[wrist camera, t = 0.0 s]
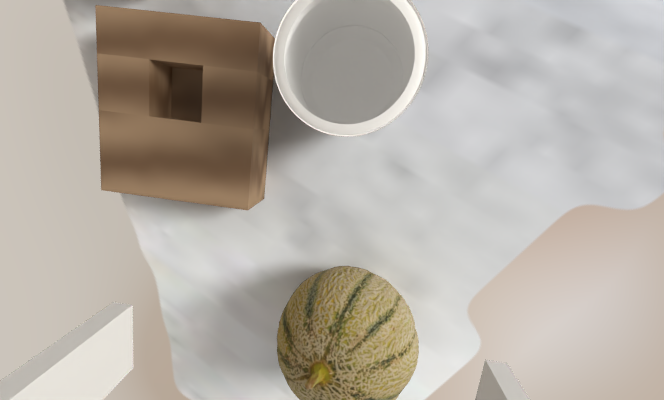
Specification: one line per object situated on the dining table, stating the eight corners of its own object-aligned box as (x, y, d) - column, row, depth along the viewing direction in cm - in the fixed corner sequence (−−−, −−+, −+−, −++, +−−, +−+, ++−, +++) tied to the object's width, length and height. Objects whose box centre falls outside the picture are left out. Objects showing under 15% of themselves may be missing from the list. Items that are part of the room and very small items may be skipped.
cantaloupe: (413, 347, 43) (442, 460, 28) (303, 357, 44) (276, 469, 30) (399, 239, 40) (423, 303, 25) (282, 255, 41) (240, 322, 27)
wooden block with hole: (137, 24, 37) (95, 5, 31) (276, 40, 36) (260, 22, 30) (138, 181, 41) (101, 190, 35) (264, 198, 40) (247, 210, 34)
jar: (382, 20, 35) (399, -58, 20) (413, 114, 37) (449, 103, 22) (291, 60, 37) (246, 13, 22) (325, 148, 38) (304, 159, 24)
